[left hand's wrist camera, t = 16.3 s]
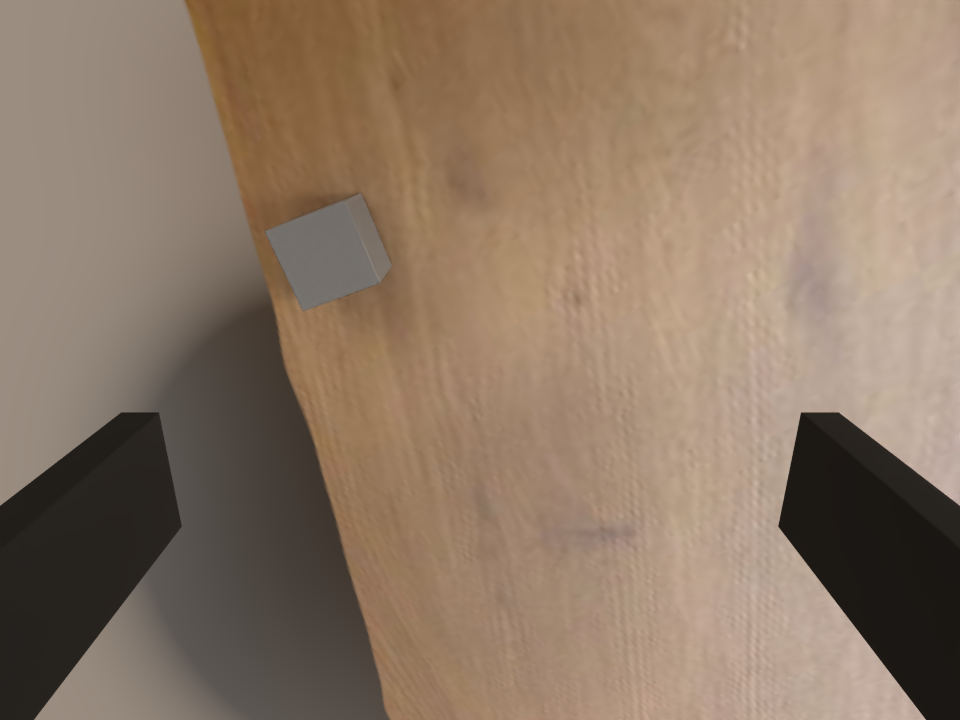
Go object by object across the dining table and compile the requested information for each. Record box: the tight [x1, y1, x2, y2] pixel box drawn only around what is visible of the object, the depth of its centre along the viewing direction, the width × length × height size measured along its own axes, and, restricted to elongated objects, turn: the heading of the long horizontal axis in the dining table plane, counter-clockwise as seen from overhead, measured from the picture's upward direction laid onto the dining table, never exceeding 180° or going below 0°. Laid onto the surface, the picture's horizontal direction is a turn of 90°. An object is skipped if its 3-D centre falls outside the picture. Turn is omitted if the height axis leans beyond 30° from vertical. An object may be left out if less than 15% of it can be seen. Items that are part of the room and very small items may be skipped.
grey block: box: [265, 193, 392, 311], centre depth 37 cm, size 5×5×5 cm
